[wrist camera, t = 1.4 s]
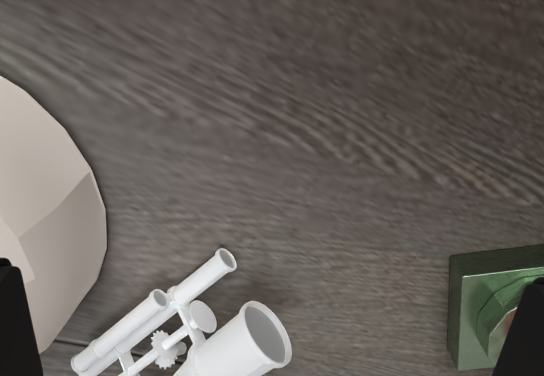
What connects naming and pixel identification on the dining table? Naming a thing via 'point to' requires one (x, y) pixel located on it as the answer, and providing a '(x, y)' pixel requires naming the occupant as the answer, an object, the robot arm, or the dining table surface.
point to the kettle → (47, 212)
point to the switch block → (487, 301)
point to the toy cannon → (192, 333)
